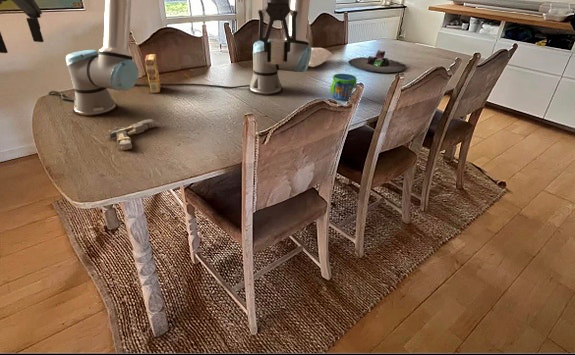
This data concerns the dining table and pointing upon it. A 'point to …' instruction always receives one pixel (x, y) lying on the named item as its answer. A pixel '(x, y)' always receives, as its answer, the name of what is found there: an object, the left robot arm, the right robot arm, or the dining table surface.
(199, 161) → the dining table surface
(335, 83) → the snack cup
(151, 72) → the candy box
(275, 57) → the tin
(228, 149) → the dining table surface
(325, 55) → the cream pillow
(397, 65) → the dark round tray
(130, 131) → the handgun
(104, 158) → the dining table surface
